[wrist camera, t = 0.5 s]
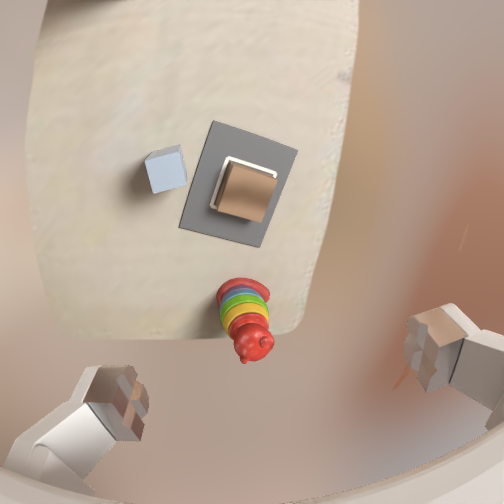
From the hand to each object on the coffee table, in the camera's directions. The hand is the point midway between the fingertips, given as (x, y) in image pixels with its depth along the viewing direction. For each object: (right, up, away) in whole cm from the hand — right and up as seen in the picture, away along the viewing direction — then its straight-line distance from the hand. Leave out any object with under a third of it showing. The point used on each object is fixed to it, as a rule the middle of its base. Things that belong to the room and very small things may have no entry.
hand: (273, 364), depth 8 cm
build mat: (-3, +15, +46) cm, 48 cm away
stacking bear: (-3, -6, +56) cm, 57 cm away
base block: (-2, +14, +46) cm, 48 cm away
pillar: (-15, +18, +41) cm, 47 cm away
